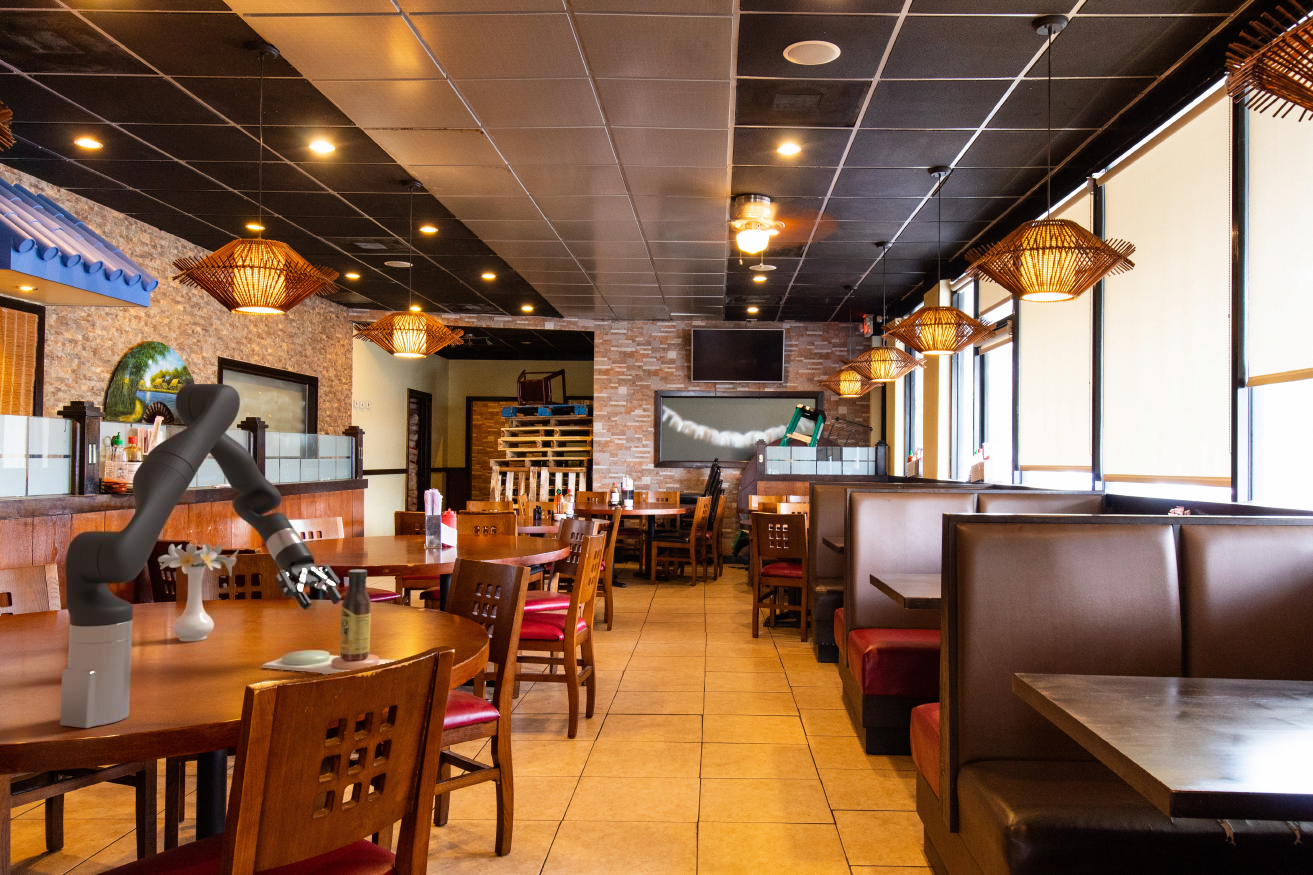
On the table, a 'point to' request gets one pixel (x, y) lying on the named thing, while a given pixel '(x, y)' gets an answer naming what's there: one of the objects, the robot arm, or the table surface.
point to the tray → (321, 662)
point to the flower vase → (195, 587)
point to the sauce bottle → (355, 618)
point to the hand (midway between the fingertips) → (323, 604)
